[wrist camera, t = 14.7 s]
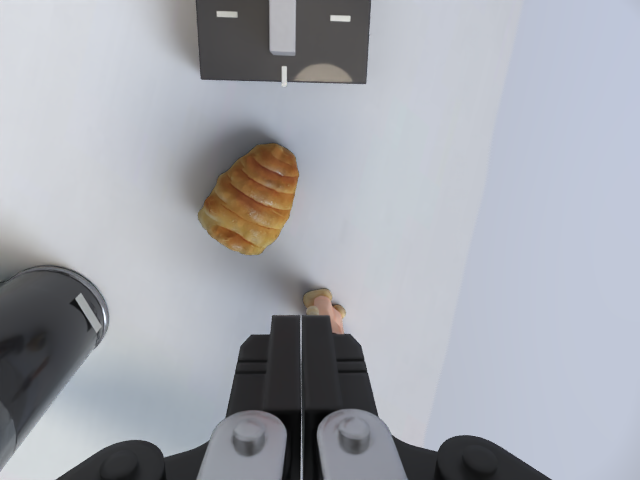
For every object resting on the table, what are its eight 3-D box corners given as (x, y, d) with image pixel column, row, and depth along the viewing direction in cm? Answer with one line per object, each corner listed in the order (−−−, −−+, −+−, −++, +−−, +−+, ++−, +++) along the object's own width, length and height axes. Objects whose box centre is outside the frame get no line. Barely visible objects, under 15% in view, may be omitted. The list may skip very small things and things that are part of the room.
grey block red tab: (295, 56, 31) (295, 52, 27) (272, 55, 31) (269, 51, 27) (296, -25, 30) (296, -42, 25) (272, -26, 29) (268, -43, 25)
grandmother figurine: (284, 299, 41) (279, 388, 29) (313, 272, 40) (320, 352, 28) (340, 347, 43) (357, 449, 31) (369, 322, 42) (397, 417, 31)
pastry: (249, 123, 36) (244, 128, 32) (319, 167, 37) (322, 176, 34) (195, 217, 38) (185, 232, 34) (263, 255, 40) (260, 272, 36)
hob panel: (208, 84, 34) (200, 84, 31) (200, -53, 31) (191, -67, 28) (360, 88, 35) (366, 89, 32) (367, -45, 32) (374, -58, 29)
